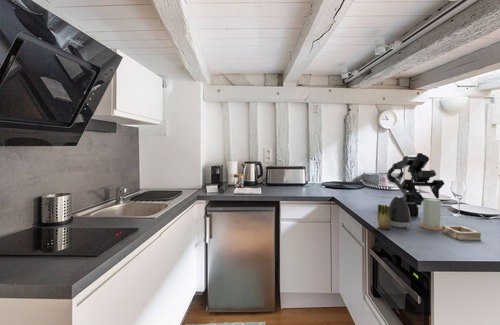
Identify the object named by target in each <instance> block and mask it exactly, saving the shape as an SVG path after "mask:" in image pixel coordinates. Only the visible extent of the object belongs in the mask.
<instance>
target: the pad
mask: <svg viewBox="0 0 500 325" xmlns="http://www.w3.org/2000/svg"><path fill="white" fill-rule="evenodd" d="M418 226H419V228H421V229H425V230H429V231H436V232H437V231H441V232H442V226H443V225H442V224H440V227H428V226H426V225H424V224H423V221H422V222H419V223H418Z"/></svg>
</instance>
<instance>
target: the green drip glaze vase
mask: <svg viewBox="0 0 500 325" xmlns="http://www.w3.org/2000/svg"><path fill="white" fill-rule="evenodd" d="M389 209H390V207H389V205H387V204H381V203H377V224H378V228H379V229H381V230H384V229H387V230H389V229H390V228H391V225H390V217H389Z"/></svg>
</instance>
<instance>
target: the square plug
mask: <svg viewBox="0 0 500 325" xmlns="http://www.w3.org/2000/svg"><path fill="white" fill-rule="evenodd" d="M422 202H423V205H422V207H423V209H422V222H423V224H424V225H426V226H428V227H440V225H441V208H442V207H441V206H442V204H441V203H442V201H441V200H440V199H437V198H423V200H422Z"/></svg>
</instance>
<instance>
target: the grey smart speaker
mask: <svg viewBox="0 0 500 325" xmlns="http://www.w3.org/2000/svg"><path fill="white" fill-rule="evenodd" d="M402 197H403V196H397V195H395V196H394V198H392V199H391V201H390V203H389V205H388V206H389V207H390V209H389V217H390V226H392V227H394V228H397V227H398V229H405V228H407V227H408V226H409V224H410V222H411V218H412V217H411V216H410V212H409V208H408V205H407V203H406V201H405V200H404V198H402Z"/></svg>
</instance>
